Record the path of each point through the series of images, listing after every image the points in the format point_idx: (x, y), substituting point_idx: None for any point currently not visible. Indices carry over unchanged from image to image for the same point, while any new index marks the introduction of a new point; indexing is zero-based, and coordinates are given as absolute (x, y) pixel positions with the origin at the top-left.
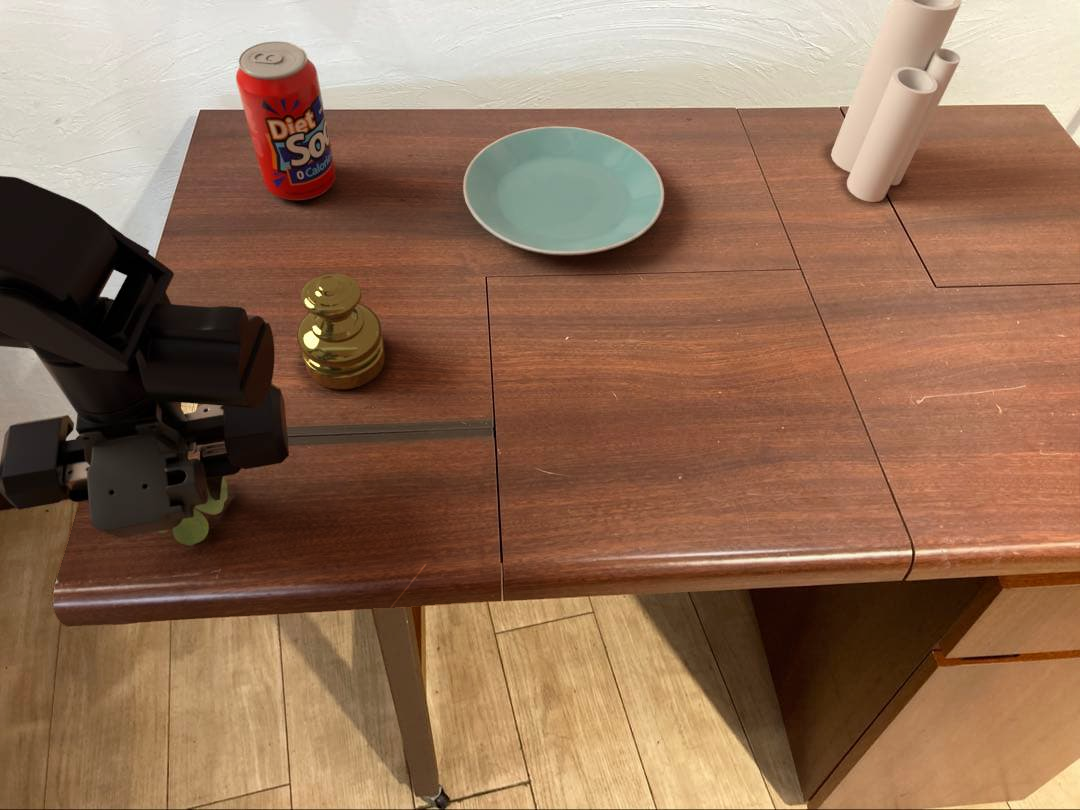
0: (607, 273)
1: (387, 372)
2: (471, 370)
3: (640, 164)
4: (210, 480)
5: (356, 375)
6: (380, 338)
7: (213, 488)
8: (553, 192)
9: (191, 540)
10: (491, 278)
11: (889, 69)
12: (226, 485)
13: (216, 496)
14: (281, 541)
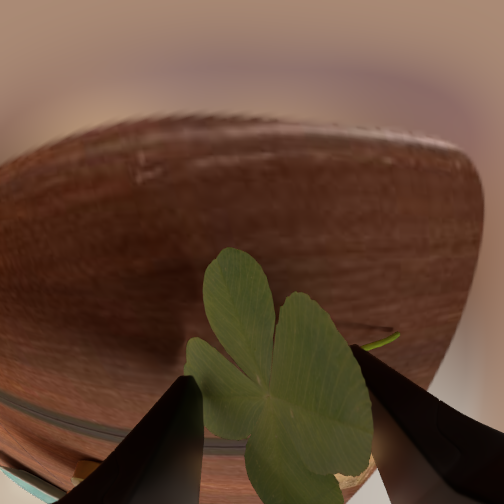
0: (5, 453)
1: (73, 460)
2: (15, 434)
3: (31, 492)
4: (121, 481)
5: (80, 476)
6: None
7: (150, 432)
8: None
9: (225, 265)
10: (59, 481)
11: None
12: None
13: (173, 392)
14: (40, 262)
